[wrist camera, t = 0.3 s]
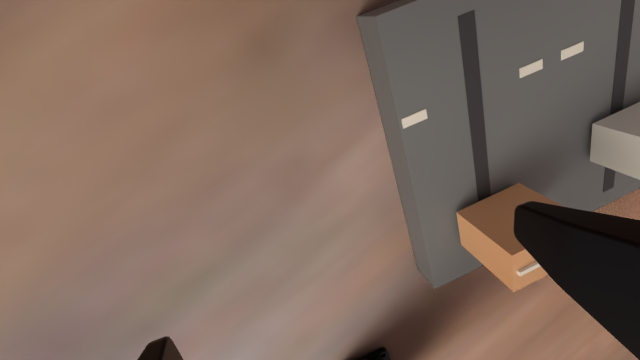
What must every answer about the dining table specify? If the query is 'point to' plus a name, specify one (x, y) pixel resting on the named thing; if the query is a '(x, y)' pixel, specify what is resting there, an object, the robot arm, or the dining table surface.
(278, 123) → the dining table surface
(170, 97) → the dining table surface
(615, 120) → the white fader
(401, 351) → the dining table surface
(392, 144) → the console board
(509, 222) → the orange fader
